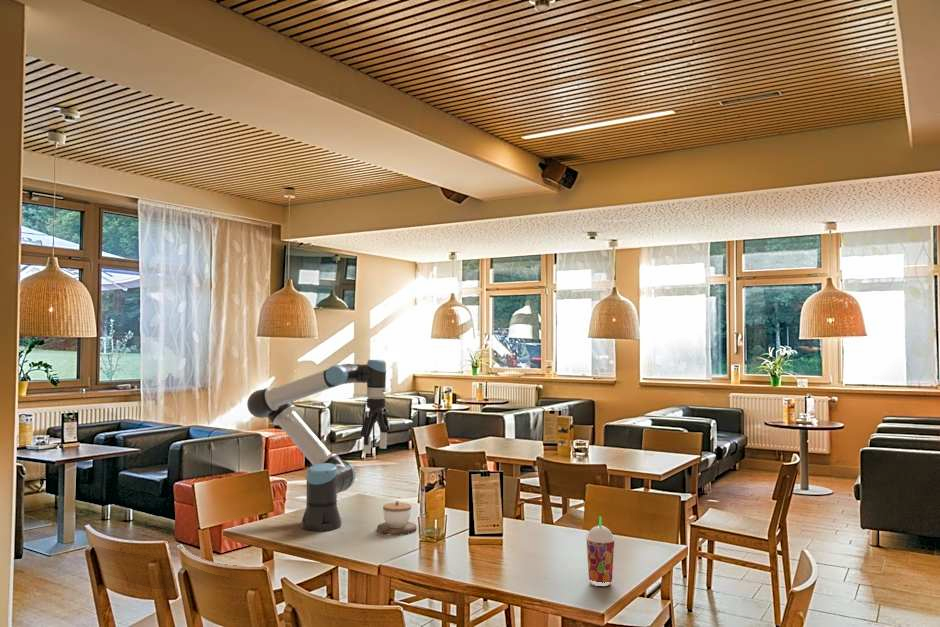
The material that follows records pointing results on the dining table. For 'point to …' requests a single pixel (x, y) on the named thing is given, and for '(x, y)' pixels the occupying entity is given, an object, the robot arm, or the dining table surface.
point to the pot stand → (396, 529)
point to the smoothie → (600, 553)
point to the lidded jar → (397, 514)
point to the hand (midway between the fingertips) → (375, 450)
